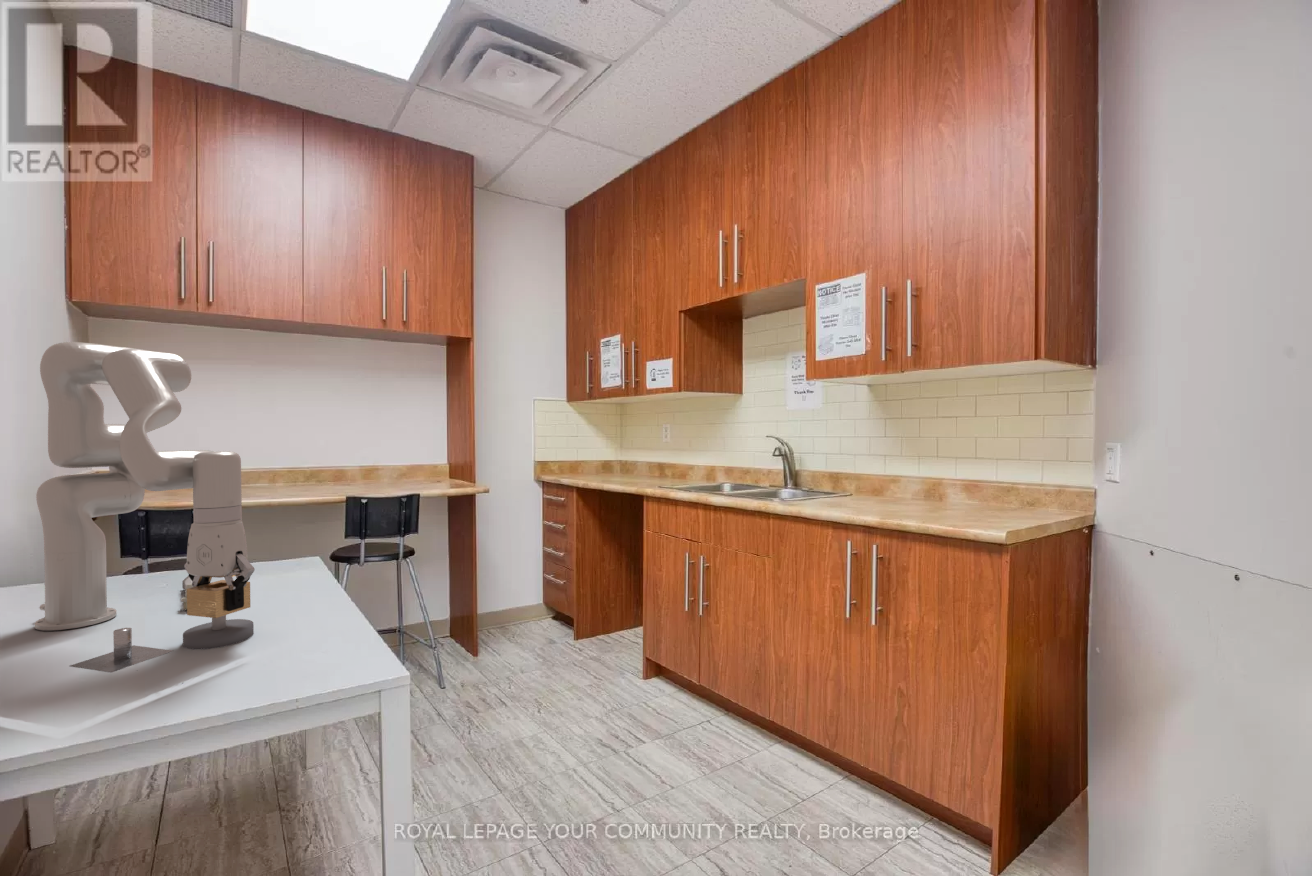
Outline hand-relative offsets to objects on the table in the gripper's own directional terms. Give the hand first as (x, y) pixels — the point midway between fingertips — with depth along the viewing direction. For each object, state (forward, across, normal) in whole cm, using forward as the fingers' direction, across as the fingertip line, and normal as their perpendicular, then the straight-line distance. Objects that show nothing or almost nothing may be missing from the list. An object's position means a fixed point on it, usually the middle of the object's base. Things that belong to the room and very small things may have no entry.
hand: (219, 606), depth 115 cm
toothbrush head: (+7, -35, +22) cm, 42 cm away
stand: (+7, -7, -12) cm, 16 cm away
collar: (+1, 0, 0) cm, 1 cm away
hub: (+7, 0, 0) cm, 7 cm away
